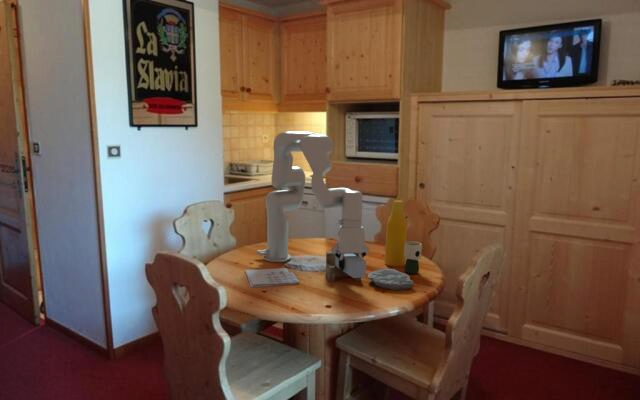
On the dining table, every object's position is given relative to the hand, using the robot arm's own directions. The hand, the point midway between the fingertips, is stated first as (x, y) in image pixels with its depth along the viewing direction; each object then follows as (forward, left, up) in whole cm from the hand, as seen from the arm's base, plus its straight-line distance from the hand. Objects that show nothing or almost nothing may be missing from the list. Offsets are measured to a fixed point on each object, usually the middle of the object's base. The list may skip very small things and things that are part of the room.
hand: (349, 268), depth 182 cm
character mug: (+31, +14, -7) cm, 35 cm away
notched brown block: (0, +10, -7) cm, 13 cm away
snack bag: (-29, +14, -8) cm, 33 cm away
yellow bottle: (+28, +27, -7) cm, 40 cm away
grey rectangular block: (0, 0, -1) cm, 1 cm away
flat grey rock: (+17, +2, -8) cm, 19 cm away
